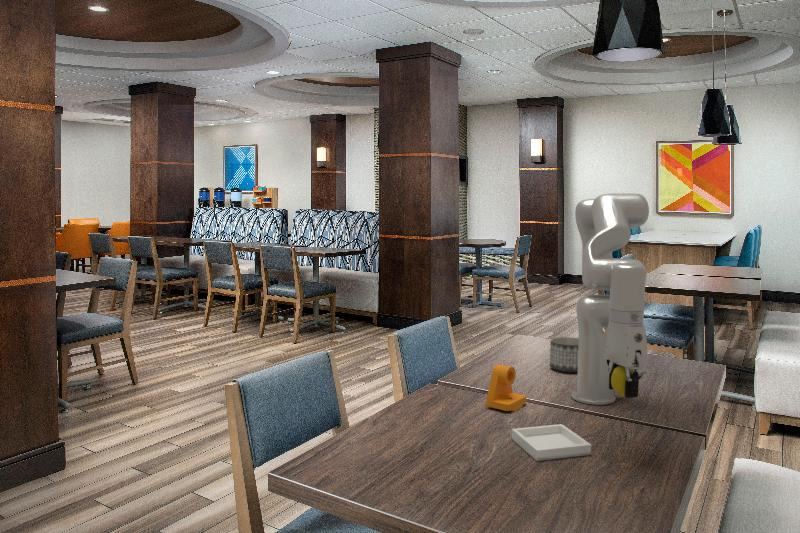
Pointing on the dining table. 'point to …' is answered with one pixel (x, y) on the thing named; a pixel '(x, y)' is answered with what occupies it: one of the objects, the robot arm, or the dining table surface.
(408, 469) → the dining table surface
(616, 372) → the lemon
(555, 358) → the planter
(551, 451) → the tray
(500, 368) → the bracket
